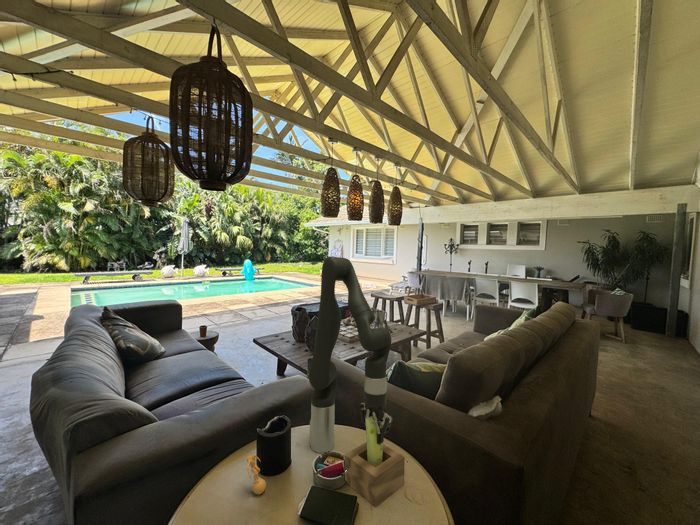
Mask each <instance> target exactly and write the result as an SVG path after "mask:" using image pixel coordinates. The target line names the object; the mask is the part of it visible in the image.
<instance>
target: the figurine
mask: <svg viewBox="0 0 700 525" xmlns="http://www.w3.org/2000/svg"><path fill="white" fill-rule="evenodd" d="M256 459H257V460H258V461H259V462H261V459H260V458H259V457H258V456H257V455H256V454H255V453H253V454H252V455H248V456H247V458H246V463H247V465H246V466H247V467H246V470H247V474H248V477H249V480H252V479H253V480H254V482H253V483H252V484H253V485H252V490H253V493H254V494H256V495H261V494H263V493H264V491H265V490H266V487H267V483H266V480H265V479H263V478H261V477H260V476H259V473H260V472H261V469H260V468H259V466H258V465H257V464H256ZM249 468H251V470H250V469H249ZM250 472H252V473H253V474H254V475H253V476H252V475H251V473H250Z"/></svg>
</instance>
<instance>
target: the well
mask: <svg viewBox="0 0 700 525" xmlns="http://www.w3.org/2000/svg"><path fill="white" fill-rule="evenodd" d="M405 458H406V457H405V456H404V455H402V454H400V453H399V452H397V450H396V451H395V450H394V449H392V448H390V447H389V446H387V445H386V444H384V443H383V456H382V463H381V464H380V465H378V466H377V467H374V466H373V465H371V464H370V463H368V462H367V441H366V442H364V443H363V444H361V445H359V446H357V447H355V448H354V449H352V450H350V451H348V452H346V453H345V454H344V470H345V469H346V470H347V471H348V473H347V483H348V484H349V485H350V486H349V485H348V484H347V483H346V484H347V485H348V486H349V487H351V489H353V490H354V491H355V490H356V491H357V492H356V491H355V492H356V493H358V494H359V495H360V494H361V495H362V496H363V497H362V496H361V495H360V496H361V497H362V498H363V499H365V500H366V499H367V500H368V501H369V502H368V503H369V504H371V505H372V506H373V507H374V508H377V507H378V506H379V505H380V504H382V503H383V502H384V501H385V500H387V499H389V497H390V496H392V495H393V494H394V493H395V492H396V491H398V490H399V489H401V487H403V486H404V485H405V465H406V464H405V460H406V459H405ZM367 500H366V501H367Z"/></svg>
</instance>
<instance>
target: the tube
mask: <svg viewBox="0 0 700 525" xmlns="http://www.w3.org/2000/svg"><path fill="white" fill-rule="evenodd" d="M365 421H366V426H365V434H367V435H366V442H367V462H368V463H370V464H371V465H373V466H374V467H377V466H378V465H380V464H381V463H382V456H383V444H384V442H383V443H381V444H380V445H378V444H377V433H378V432H377V427H376V426H375V421H374V420H373V418H372V417H369V418H366V420H365ZM378 422H380V421H378ZM380 428H381V426H380Z"/></svg>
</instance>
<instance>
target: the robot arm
mask: <svg viewBox="0 0 700 525" xmlns="http://www.w3.org/2000/svg"><path fill="white" fill-rule="evenodd" d="M353 265H354V264H353V263H352V262H351V260H349V259H348V258H345V257H338V256H327V257H326V258H325V259H324V261H323V263H322V266H321V267H322V268H321V277H320V278H321V280H320V300H319V307H318V314H317V320H316V328H315V329H316V330H315V338H314V347H313V353H312V358H311V362H310V367H309V371H308V381H309V384H310V386H311V388H313V392H312V394H311V402H310V403H311V405H310V406H311V407H310V409H311V410H310V411H311V412H310V414H311V415H310V417H311V418H310V420H309V444H310V448H311V450H312V451H313V452H315V453H318V454H324V452H326V453H329V452H331V451H332V450H334V448H335V409H336V408H335V400H336V395H337V391H338V390H337V387H338V370H337V367H336V365H335V363H334V362H333V361H332V355H333V350H334V348H335V345H336V343H337V341H338V337H339V334H340V331H341V324H342V311H341V308H340V305H339V303H338V300H337V298H336V291H335V289H336V282H342V283H343V284H344V285H345V287H346V289H347V292H348V294H347V307H348V310H349V313H350V314H351V316H352V318H353V320H354V322H355V325H356V330H357V335H358V339H359V343H360V346H361V347H362V348H363V349H364V350H365V351H366V352H372V354H370V355H369V356H367V357H366V359H365V361H364V379H363V380H364V381H363V402H361V403H360V404H358V409H359V415H360V419H361V422H362V423H363V424H365V427H366V421H365V420H366V418H369V417H372V418H373V420H374V421H375V426H376V427H377V432H378V433H377V444H378V445H380V444H381V443H383V444H384V441H385V440H384V439H385V434H387V433H389V432H390V430H391V426H392V423H393V420H394V416H393V415H389V414H388V413H387V410H386V405H387V397H388V393H387V392H388V391H387V390H388V386H387V384H388V383H387V382H388V381H387V362H388V359H389V355H390V351H391V348H392V347H391V346H392V336H391V333H390V331H389V330H388V329H387V328H386V327H375V328H372V327H371V325H372V324H374V322H375V320H376V315H375V314H374V312H373V310H372V308H371V306H370V305H369V303H368V301H367V299H366V297H365V295H364V293H363V291H362V288H361V285H360V282H359V279H358V276H357V274H356V271H355V268H354V266H353ZM378 421H380V422H378ZM380 426H381V428H380ZM365 434H366V433H365ZM365 436H367V434H366V435H365ZM328 451H329V452H328Z"/></svg>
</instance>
